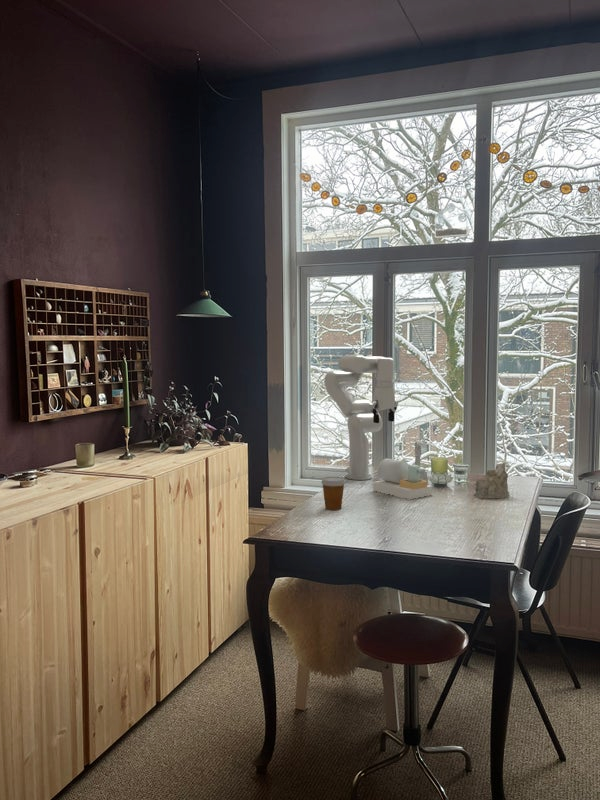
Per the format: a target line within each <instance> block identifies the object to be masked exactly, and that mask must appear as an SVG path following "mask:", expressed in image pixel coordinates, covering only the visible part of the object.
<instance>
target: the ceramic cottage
mask: <svg viewBox="0 0 600 800" xmlns="http://www.w3.org/2000/svg"><path fill="white" fill-rule="evenodd" d="M508 478H509V475H508V473H507V471H506V463H505V462H502V463H501V465H500V464H496V465H495V469H488V470H487V471H486V474H484V475H483V476H482V478H481V479H478V480H476V483H475V484H474V486H475V488H474V490H475V492H474V493H473V496H474V497H476V498H478V497H479V499H488V498H489V499H490V498H491V499H492V498H493V499H494V498H497V499H505V498H504V497H506V498H509V497H510V491H509V484H508ZM508 496H509V497H508Z"/></svg>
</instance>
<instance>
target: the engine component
mask: <svg viewBox="0 0 600 800" xmlns="http://www.w3.org/2000/svg"><path fill="white" fill-rule="evenodd" d="M414 442H415V443H414V455H415V456H414V457H415V459H414V465H419V466H420V470H423V471H424V473H423V474H419V479H420V480H425V481H427V484H428V485H429V477H428V472H427V471H426V470H425V468H421V457H422V442H421V440H415V441H414Z"/></svg>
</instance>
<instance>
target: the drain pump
mask: <svg viewBox="0 0 600 800" xmlns="http://www.w3.org/2000/svg"><path fill="white" fill-rule="evenodd" d="M420 468H421V465H420V466H419V465H415V464H408V482H411V483H417V482H419V474H423V473H424V471H423V470H420Z"/></svg>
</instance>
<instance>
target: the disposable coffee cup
mask: <svg viewBox="0 0 600 800" xmlns="http://www.w3.org/2000/svg"><path fill="white" fill-rule="evenodd" d="M321 484H322V485H321V486H322V491H323V498H324V499H323V500H324V507H325V510H329V511H340V510H342V504H343V496H344V489H345V484H346V481H345V478H344V477H341V476H325V477H323V478H322V481H321Z"/></svg>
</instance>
